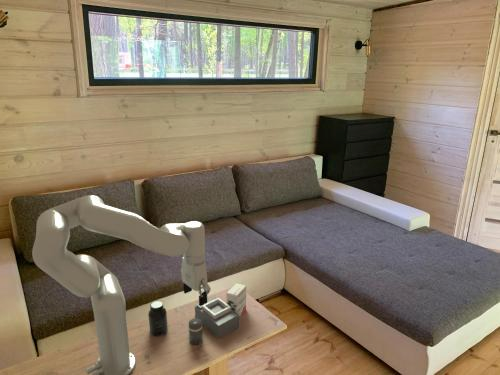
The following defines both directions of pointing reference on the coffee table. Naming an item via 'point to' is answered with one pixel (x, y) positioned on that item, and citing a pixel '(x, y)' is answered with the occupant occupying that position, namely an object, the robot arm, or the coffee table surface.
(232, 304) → the ink box
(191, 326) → the lens
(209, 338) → the coffee table surface
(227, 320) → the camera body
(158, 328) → the supplement bottle
